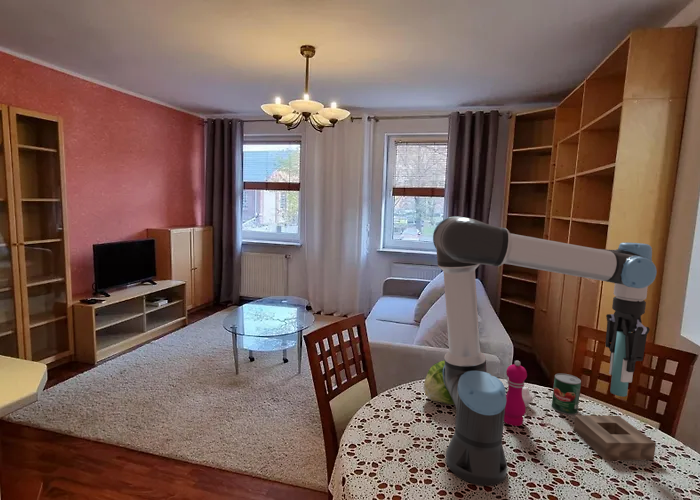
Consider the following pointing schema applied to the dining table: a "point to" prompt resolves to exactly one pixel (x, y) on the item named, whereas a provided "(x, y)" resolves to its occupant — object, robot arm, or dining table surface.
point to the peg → (619, 367)
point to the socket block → (614, 438)
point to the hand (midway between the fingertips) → (620, 377)
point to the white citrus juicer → (526, 396)
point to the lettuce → (437, 385)
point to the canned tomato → (566, 394)
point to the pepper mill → (515, 395)
